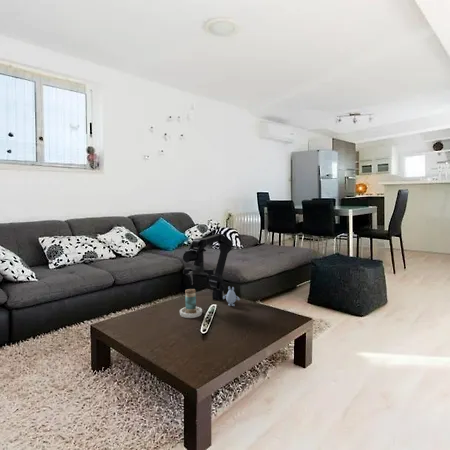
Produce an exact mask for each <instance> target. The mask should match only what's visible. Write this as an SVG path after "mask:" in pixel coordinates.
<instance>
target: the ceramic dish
mask: <svg viewBox="0 0 450 450" xmlns="http://www.w3.org/2000/svg"><path fill="white" fill-rule="evenodd" d="M185 311H186V306H185V307H183V308H180V309H179V316H180V317H182V318H185V319H194V318H198V317H201V316H202V315H203V309H202V307H199V306H196V311H197V313H193V314H186V313H185Z"/></svg>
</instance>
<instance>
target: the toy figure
mask: <svg viewBox="0 0 450 450" xmlns="http://www.w3.org/2000/svg"><path fill="white" fill-rule="evenodd" d="M227 289H228V291H227V293H226V294H224V296H223V300H225V299H226V302H227V303H228V305H227V306H229V307H230V306H232V307H235V303H236V301H240V300H241V299H240V297H239V296H238V295H236V292H235V287H234V286H232V287H231V286H230V285H229V286H228V287H227Z"/></svg>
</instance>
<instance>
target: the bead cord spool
mask: <svg viewBox="0 0 450 450" xmlns="http://www.w3.org/2000/svg"><path fill="white" fill-rule="evenodd" d="M184 292H185V297H184V298H185V307H186V311H185V313H186V314H193V313H197V311H196V307H197V294H196V292H197V290H196V289H195V288H187V289H185V291H184Z"/></svg>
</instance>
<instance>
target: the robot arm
mask: <svg viewBox="0 0 450 450" xmlns="http://www.w3.org/2000/svg"><path fill="white" fill-rule="evenodd" d="M213 243H217V244H219V246H218V249H219V256H218V259H217V264H216V268H213V267H208V268H207V269H205V263H204V262H205V259H204V257H205V256H204V252H207V250H206V249H205V248H206V247H207V246H209V245H210V244H213ZM233 246H234V242H233V241H232V239H230V238H228V237H227V236H225V235H224V234H223V233H215V234H213V235H210V236H207V237H202V238H199V237H198V238H196V237H195V238H193V239H192V242H191V244H190V246H189V248H188V250H184V253H183V255H182V259H183V261H184V263H192V262H193V267H185V268H184V269H183V270H182V274H183V275H185V276H187V277H188V279H189V282H190V285H192V286H193V284H194V282H193V281H194V279H193V278H194V277H193V275H194V276H195V275H198V276H199V275H201V274H202V273H203V274H206V283H205V284H206V286H208V285H209V286H210V289H211V290H212V296H211V297H212V300H213V301H224V299H223V296H225V294H224V291H226V289H227V286H226V285H225V284H224V277H223V274H224V271H225V266H226V262H227V256H228V254H229V253H230V252H231V251H232V248H233Z"/></svg>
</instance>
